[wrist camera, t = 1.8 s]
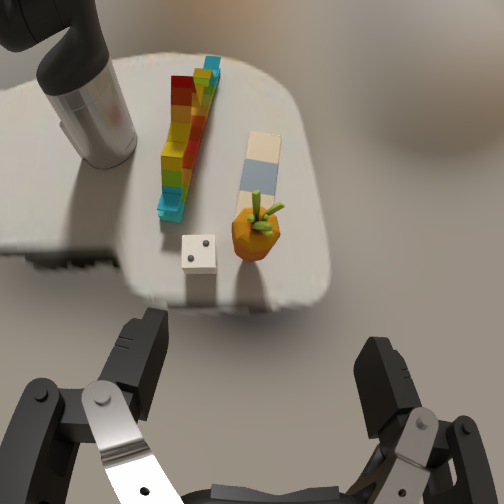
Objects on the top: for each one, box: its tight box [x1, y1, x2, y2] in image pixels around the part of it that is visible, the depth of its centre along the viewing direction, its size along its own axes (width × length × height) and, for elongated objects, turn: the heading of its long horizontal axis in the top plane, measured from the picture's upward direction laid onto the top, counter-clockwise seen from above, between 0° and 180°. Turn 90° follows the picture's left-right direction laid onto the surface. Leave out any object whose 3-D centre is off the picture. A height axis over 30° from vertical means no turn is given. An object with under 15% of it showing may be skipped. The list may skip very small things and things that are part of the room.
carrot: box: [232, 190, 285, 262], centre depth 32 cm, size 5×5×15 cm
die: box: [182, 234, 216, 274], centre depth 37 cm, size 4×4×4 cm
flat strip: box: [234, 131, 281, 220], centre depth 42 cm, size 5×16×1 cm, turn 172°
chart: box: [157, 56, 221, 223], centre depth 37 cm, size 30×3×15 cm, turn 173°
